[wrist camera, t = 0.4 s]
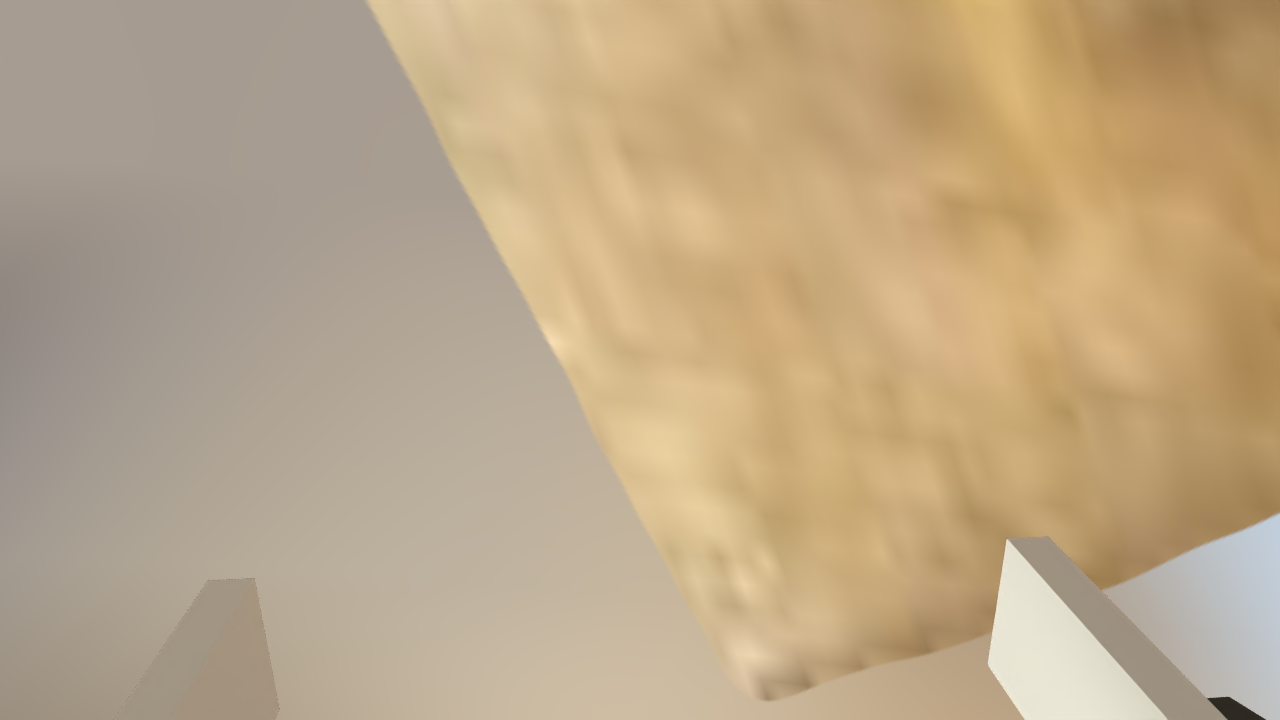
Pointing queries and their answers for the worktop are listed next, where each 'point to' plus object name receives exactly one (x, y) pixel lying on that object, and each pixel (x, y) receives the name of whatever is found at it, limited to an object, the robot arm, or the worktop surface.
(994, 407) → the worktop surface
